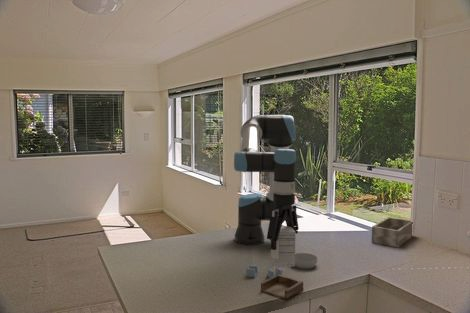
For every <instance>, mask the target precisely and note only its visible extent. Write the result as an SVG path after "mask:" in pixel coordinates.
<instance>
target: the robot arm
mask: <svg viewBox="0 0 470 313" xmlns="http://www.w3.org/2000/svg"><path fill="white" fill-rule="evenodd" d="M240 137H241V146H240V151H235V152H234V157H233V159H234V160H233V169H234V171H236V172H241V173H269V189H268V190H269V191H268V192H266V196H263V195H262V194H261V193H256V192H255V193H249V194H248V193H247V194H244V195H241V196H240V197H239V198H238V203H237V204H238V205H237V208H238V210H237V211H238V212H237V213H238V214H237V228H236V230H235V232H234V233H235V234H234V241H235V240H236V241H237V242H240V243H244V244H243V245H247V244H250V246H253V245H260V244H262V243H265V241H266V240H265V238H266V239H267V240H269V241H270V259H271V258H274V259H279V240H277V239H278V236H279V233H280V229H281V226H282V225H283V223H285V224H286V225H285V226H290V227H292V228H293V230H294V231H295V235H297V234H298V232H299V221H298V214H297V205H295V203H296V202H295V200H296V197H295V196H296V194H295V192H296V163H297V156H296V155H297V153H296V150H295V149H292V148H290V147H291V146H293V142H294V141H296V140H297V136H296V125H295V119H294V117H293V116H292V115H288V114H287V115H286V114H259V115H255V116H253V117H250V118H249V119H248V120H246V121H245V122H244V123H243V125H242V126H241V129H240ZM260 141H267V145H268V146H269V147H270V152H268V151H266V152H265V151H261V150H260V144H261V142H260ZM262 221H264V222H265V221H268V223H269V224H268V228H267V234H266V237H265V233H264V231H263V227H262V226H263V225H262ZM236 241H235V242H236ZM237 242H236V243H237ZM240 243H239V244H240ZM251 244H252V245H251Z"/></svg>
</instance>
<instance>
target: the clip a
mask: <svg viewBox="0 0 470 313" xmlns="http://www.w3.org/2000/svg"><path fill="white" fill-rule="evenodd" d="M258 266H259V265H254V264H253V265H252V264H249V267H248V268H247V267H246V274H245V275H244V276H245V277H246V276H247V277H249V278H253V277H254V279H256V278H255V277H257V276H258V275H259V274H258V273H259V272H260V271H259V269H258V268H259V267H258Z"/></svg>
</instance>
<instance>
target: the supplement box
mask: <svg viewBox="0 0 470 313" xmlns="http://www.w3.org/2000/svg"><path fill="white" fill-rule="evenodd" d="M277 240H279V259H274V258H271V257H270V260H271V261H272V263H273V266H274V267H275V268H277V267H279V268H280V267H281V268H282V267H285V268H286V267H296V266H295V254H296V233H295V231H294V230H293V228H292V227H290V226H287V225H285V226H284V225H283V226H281V229H280V233H279V236H278V239H277Z"/></svg>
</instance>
